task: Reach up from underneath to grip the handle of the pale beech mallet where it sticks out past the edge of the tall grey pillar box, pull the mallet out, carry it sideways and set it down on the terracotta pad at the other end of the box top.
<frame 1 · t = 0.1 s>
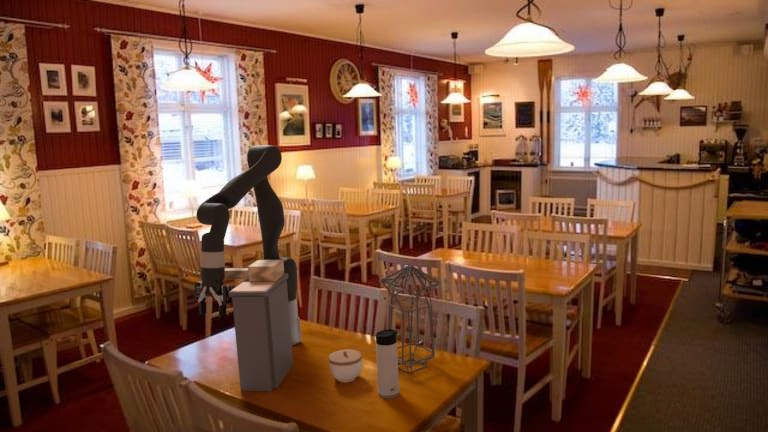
hand: (212, 315, 187), 22 cm above the table, tool pointing down, fingers open, 8 cm apart
beech mallet: (265, 277, 192), point 32 cm above the table, touching tall grey pillar box
travel mug: (389, 394, 175), on the table
geometric lantern: (413, 367, 194), on the table
tall grey pillar box: (267, 375, 192), on the table
lidded jar: (346, 378, 187), on the table
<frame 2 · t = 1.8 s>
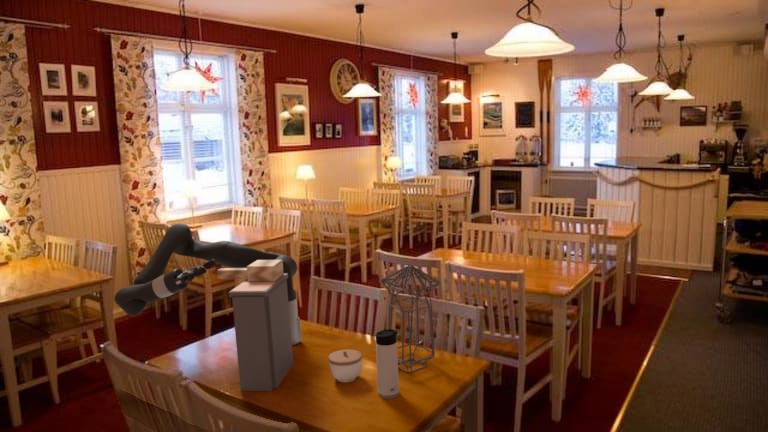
hand: (210, 265, 196), 36 cm above the table, tool pointing upward, fingers open, 8 cm apart
nothing on the table moved.
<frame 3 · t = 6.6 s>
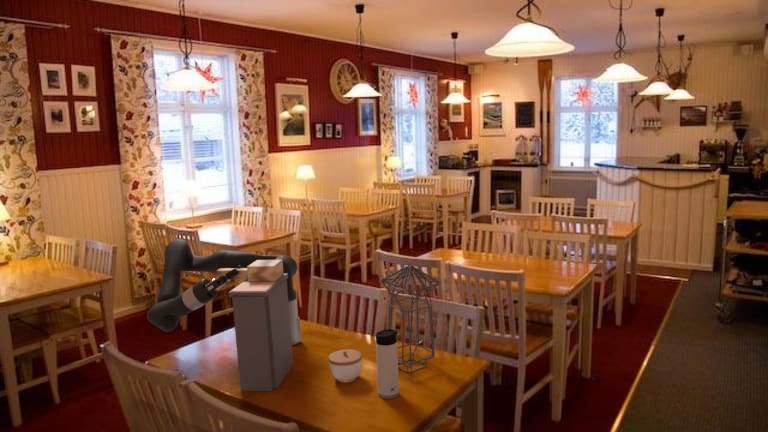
hand: (238, 269, 193), 35 cm above the table, tool pointing upward, fingers open, 3 cm apart
beech mallet: (264, 277, 193), point 32 cm above the table, touching tall grey pillar box, gripper
everything else where it was.
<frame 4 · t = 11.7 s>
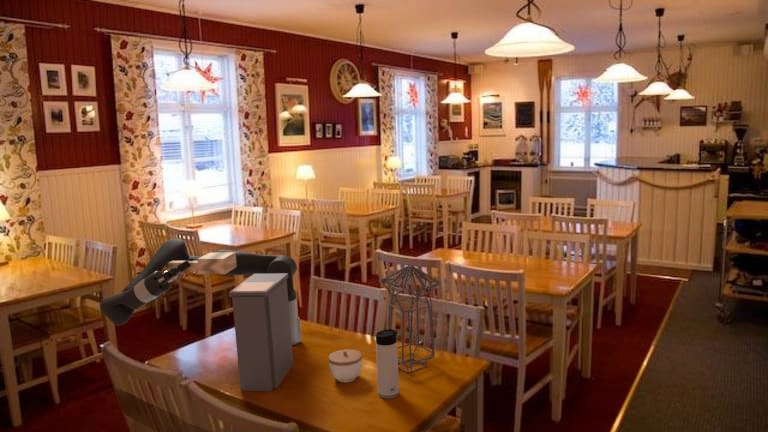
hand: (191, 261, 190), 39 cm above the table, tool pointing upward, fingers closed on beech mallet, 3 cm apart
beech mallet: (216, 270, 190), point 36 cm above the table, touching gripper
everything else where it was.
when the fingers open (36 cm above the table, at t = 16.3 s): beech mallet drops 1 cm, resting on tall grey pillar box.
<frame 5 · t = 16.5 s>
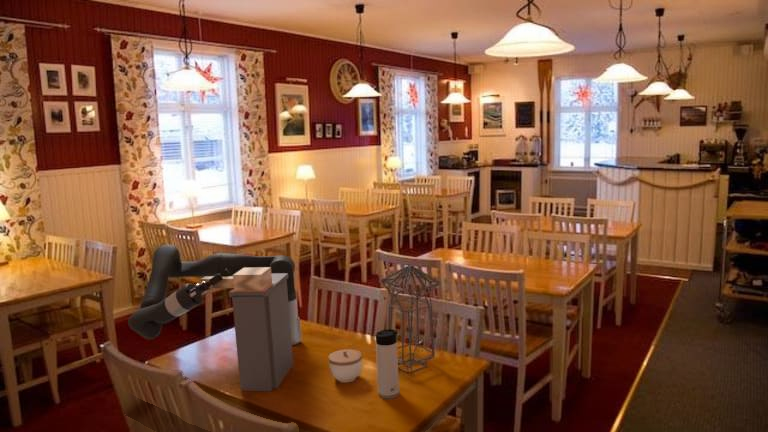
hand: (224, 274, 182), 36 cm above the table, tool pointing upward, fingers open, 5 cm apart
beech mallet: (252, 286, 182), point 32 cm above the table, touching tall grey pillar box
everything else where it was.
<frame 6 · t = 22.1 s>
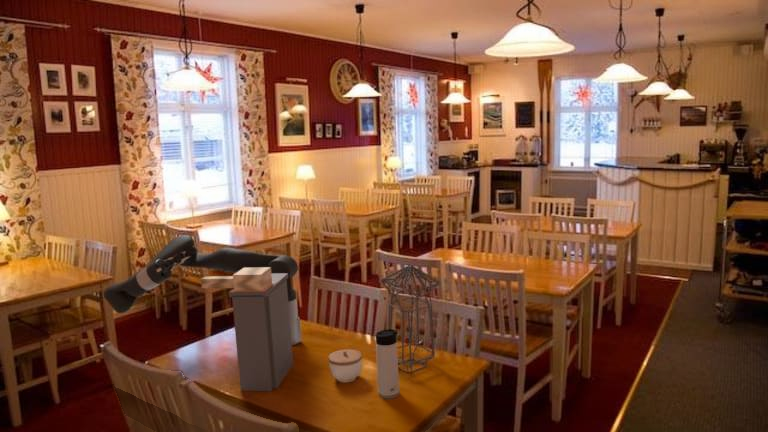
hand: (189, 251, 197), 41 cm above the table, tool pointing upward, fingers open, 8 cm apart
nothing on the table moved.
at the end: beech mallet 0.6 cm from the target spot on the tall grey pillar box, point 32.2 cm above the tall grey pillar box's base; the gripper is holding nothing; beech mallet tilted 0° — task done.
